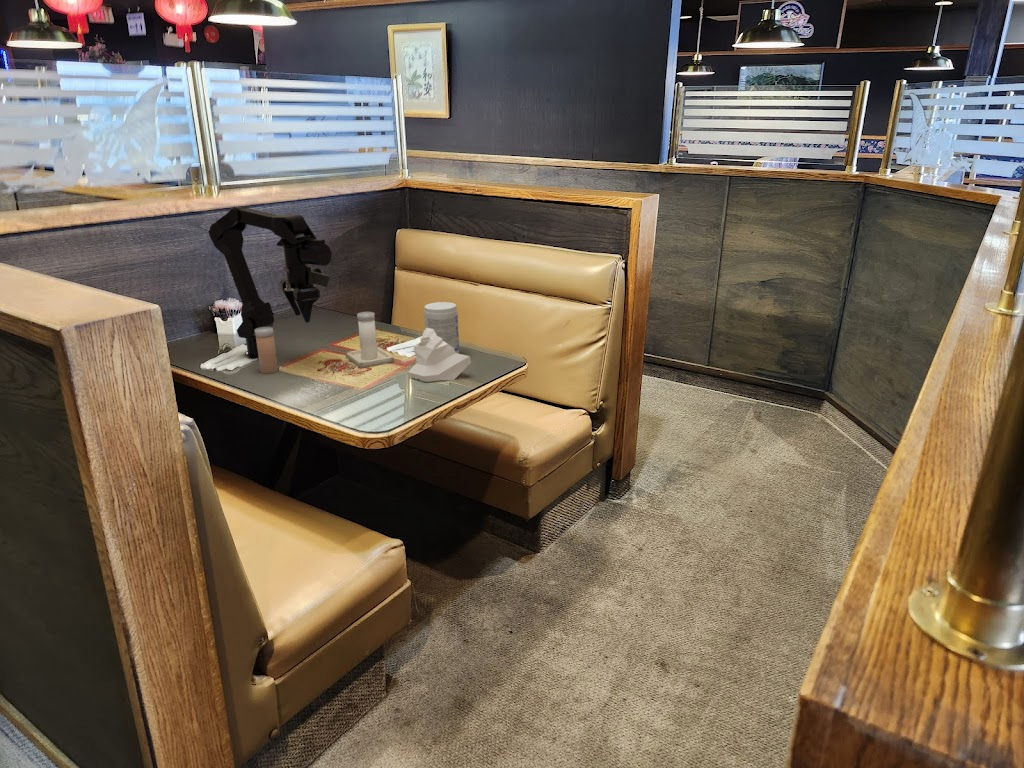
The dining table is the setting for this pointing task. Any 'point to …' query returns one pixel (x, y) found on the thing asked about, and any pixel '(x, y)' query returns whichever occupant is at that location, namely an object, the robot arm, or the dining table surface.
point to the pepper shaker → (266, 349)
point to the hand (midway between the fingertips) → (302, 318)
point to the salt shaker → (367, 335)
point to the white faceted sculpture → (436, 359)
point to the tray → (356, 359)
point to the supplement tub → (443, 322)
